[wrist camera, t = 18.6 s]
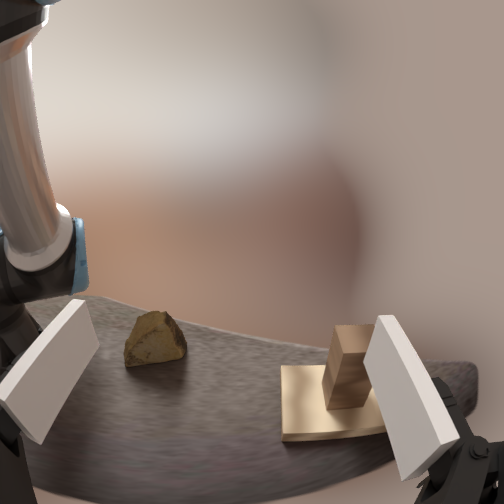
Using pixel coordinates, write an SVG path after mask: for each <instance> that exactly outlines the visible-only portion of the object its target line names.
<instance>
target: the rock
mask: <svg viewBox="0 0 504 504" xmlns="http://www.w3.org/2000/svg"><path fill="white" fill-rule="evenodd" d="M186 344H187V342H186V340H185V337H184V335H183V332H182V330H180V328H179V327H178V325H177V324H176V322H175V321H174V319H172V317H171V316H170V315H169V314H168V313H167V312H166V311H165V312H159V311H151V312H148V313H147V314H144V315H142V316H139V317H138V318H137V321H136V324H135V326H134V328H133V330H132V332H131V334H130V337H129V338H128V339H127V340H126V342H125V349H124V360H125V366H126V367H132V366H138V365H145V364H150V363H160V362H166V361H170V360H177V359H180V358H182V357H183V355H184V354H185V351H186V349H187V345H186Z"/></svg>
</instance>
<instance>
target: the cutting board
mask: <svg viewBox="0 0 504 504" xmlns="http://www.w3.org/2000/svg"><path fill="white" fill-rule="evenodd" d="M325 367H326V365H316V366H281V371H280V389H281V441H311V440H327V439H339V438H348V437H357V436H364V435H371V434H377V433H383V432H387V429H386V426H385V423H384V420H383V417H382V414H381V411H380V408H379V405H378V402H377V399H376V396H375V393H374V390H373V388H372V389H371V391H370V393H369V395H368V398H367V400H366V402H365V404H364V407H360V408H350V409H338V410H326V406H325V400H324V394H323V389H322V379H323V375H324V371H325Z"/></svg>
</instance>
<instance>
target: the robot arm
mask: <svg viewBox="0 0 504 504" xmlns="http://www.w3.org/2000/svg"><path fill="white" fill-rule="evenodd" d="M58 1H60V0H0V504H37V501H36V497H35V494H34V490H33V487H32V483H31V479H30V475H29V471H28V467H27V462H26V457H25V452H24V447H23V441H22V438H21V435H20V434H19V433H20V431H21V430H22V432H23V433H24V434H25V435H26V436H27V437H28V438H29V439H31V440H33V441H34V442H36V443H38V444H40V445H41V444H42V442H43V441H44V439H45V437H46V435H47V433H48V431H49V429H50V427H51V426H52V424H53V422H54V420H55V418H56V417H57V415H58V413H59V411H60V410H61V408H62V406H63V404H64V403H65V401H66V399H67V397H68V396H69V394H70V392H71V391H72V389H73V387H74V386H75V384H76V382H77V381H78V379H79V378H80V376H81V374H82V373H83V371H84V370H85V368H86V366H87V365H88V363H89V362H90V360H91V359H92V357H93V355H94V354H95V352H96V351H97V349H98V348H99V346H100V345H99V342H98V339H97V336H96V334H95V331H94V328H93V325H92V322H91V318H90V315H89V312H88V309H87V305H86V302H85V301H84V300H77V299H73V300H72V301H71V302H70V303H69V304H68V305H67V306H66V307H65V308H64V309H63V310H62V311H61V312H60V313H59V314H58V316H57V317H56V318H55V319H54V320H53V321H52V322H51V323H50V324H49V325H48V326H47V328H46V329H45V330H44V331H43V330H42V328H41V327H40V325H39V324H38V323H37V322H36V320H35V319H34V318H33V317H32V315H31V314H30V313H29V311H28V310H27V309H26V307H25V304H24V303H26V302H32V301H37V300H43V299H48V298H54V297H59V296H64V295H68V296H71V295H73V294H74V293H78V292H82V291H85V290H86V289H87V288H88V285H89V276H88V267H87V257H86V247H85V233H84V221H83V220H82V219H81V218H72V219H71V216H70V214H69V212H68V211H67V210H66V209H65V208H64V207H63V206H62V205H60V204H58V203H56V202H55V199H54V195H53V192H52V188H51V185H50V181H49V177H48V173H47V169H46V164H45V160H44V156H43V151H42V146H41V141H40V136H39V130H38V123H37V117H36V111H35V110H36V109H35V102H34V92H33V80H32V62H31V42H32V40H33V38H34V37H35V36H36V35H37V33H38V32H39V31H40V30H41V29H42V27H43V26H44V25H45V24H46V23H47V20H48V14H49V5H54V3H56V2H58ZM363 363H364V365H365V368H366V371H367V374H368V376H369V379H370V382H371V385H372V388H373V390H374V393H375V396H376V399H377V402H378V405H379V408H380V411H381V414H382V417H383V420H384V423H385V426H386V429H387V432H388V436H389V439H390V442H391V445H392V449H393V452H394V455H395V459H396V462H397V466H398V469H399V473H400V477H401V480H402V482H403V481H406V480H410V479H413V478H416V477H419V476H420V475H422V474H423V473H424V472H425V471H426V470H427V469H428V472H429V476H428V477H426V478H425V479H424V480H423V481H421V482H420V483H419V484H418V486H417V488H420V487H421V486H422V485H423V484H424V485H423V487H422V489H421V492H420V493H419V495H418V498H417V499H416V501H415V503H414V504H504V441H502V442H493V443H488V442H487V440H486V439H484V438H482V437H481V436H474V435H473V433H472V431H471V429H470V427H469V425H468V423H467V421H466V419H465V417H464V415H463V413H462V411H461V409H460V407H459V406H458V405H457V402H456V400H455V398H454V397H453V394H452V393H451V391H450V389H449V387H448V385H447V384H446V383H444V382H443V381H442V380H441V379H440V378H439V377H436V378H430V376H429V375H428V373H427V371H426V369H425V367H424V366H423V364H422V362H421V360H420V358H419V357H418V355H417V353H416V351H415V350H414V348H413V346H412V345H411V343H410V341H409V340H408V338H407V336H406V335H405V333H404V331H403V330H402V328H401V327H400V325H399V323H398V322H397V320H396V318H395V317H394V315H382V316H378V318H377V322H376V325H375V328H374V331H373V334H372V337H371V341H370V344H369V346H368V349H367V352H366V355H365V358H364V361H363ZM496 481H498V487H497V486H496Z"/></svg>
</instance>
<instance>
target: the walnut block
mask: <svg viewBox="0 0 504 504" xmlns="http://www.w3.org/2000/svg"><path fill="white" fill-rule="evenodd" d="M374 328H375V326H374V325H373V324H368V325H335V326H334V332H333V336H332V340H331V345H330V349H329V354H328V358H327V362H326V367H325V371H324V375H323V379H322V389H323V394H324V400H325V406H326V410H338V409H350V408H360V407H364V404H365V402H366V400H367V398H368V395H369V393H370V391H371V389H372V385H371V382H370V379H369V376H368V374H367V371H366V368H365V365H364V363H363V361H364V358H365V355H366V352H367V349H368V346H369V344H370V341H371V337H372V334H373V331H374Z"/></svg>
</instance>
